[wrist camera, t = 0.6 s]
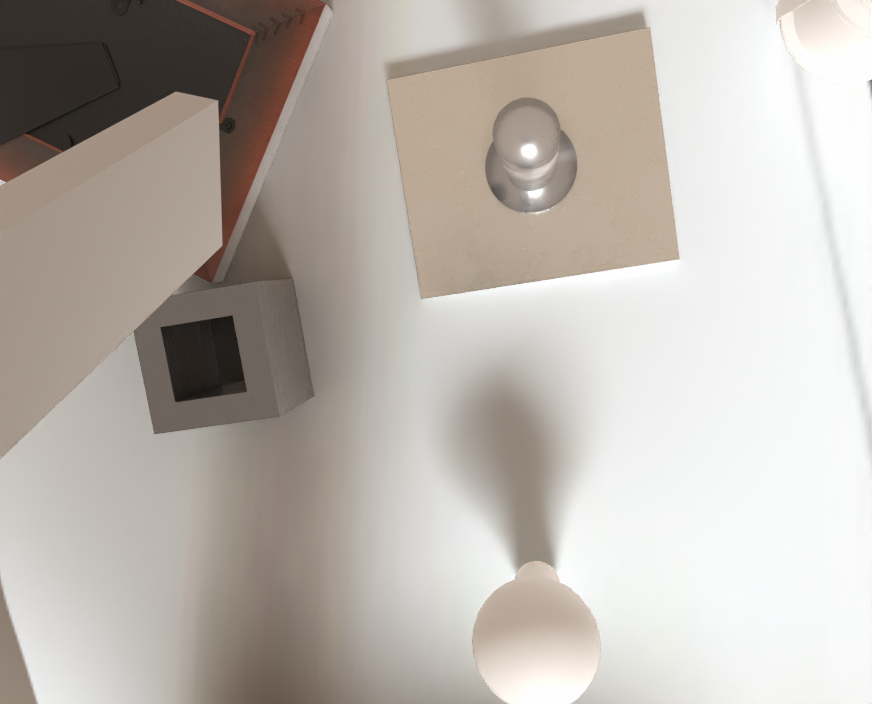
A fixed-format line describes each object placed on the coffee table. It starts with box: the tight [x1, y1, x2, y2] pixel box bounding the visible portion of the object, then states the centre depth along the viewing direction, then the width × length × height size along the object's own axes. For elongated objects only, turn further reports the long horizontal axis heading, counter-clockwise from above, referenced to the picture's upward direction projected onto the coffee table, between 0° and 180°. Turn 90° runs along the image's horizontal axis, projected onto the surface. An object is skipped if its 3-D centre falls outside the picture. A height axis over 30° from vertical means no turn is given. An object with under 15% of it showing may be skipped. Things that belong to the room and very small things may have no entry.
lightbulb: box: [472, 561, 601, 704], centre depth 40 cm, size 6×6×11 cm
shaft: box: [387, 27, 679, 299], centre depth 36 cm, size 12×14×13 cm
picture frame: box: [0, 0, 334, 283], centre depth 45 cm, size 16×2×22 cm
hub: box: [134, 279, 314, 434], centre depth 43 cm, size 7×7×6 cm
